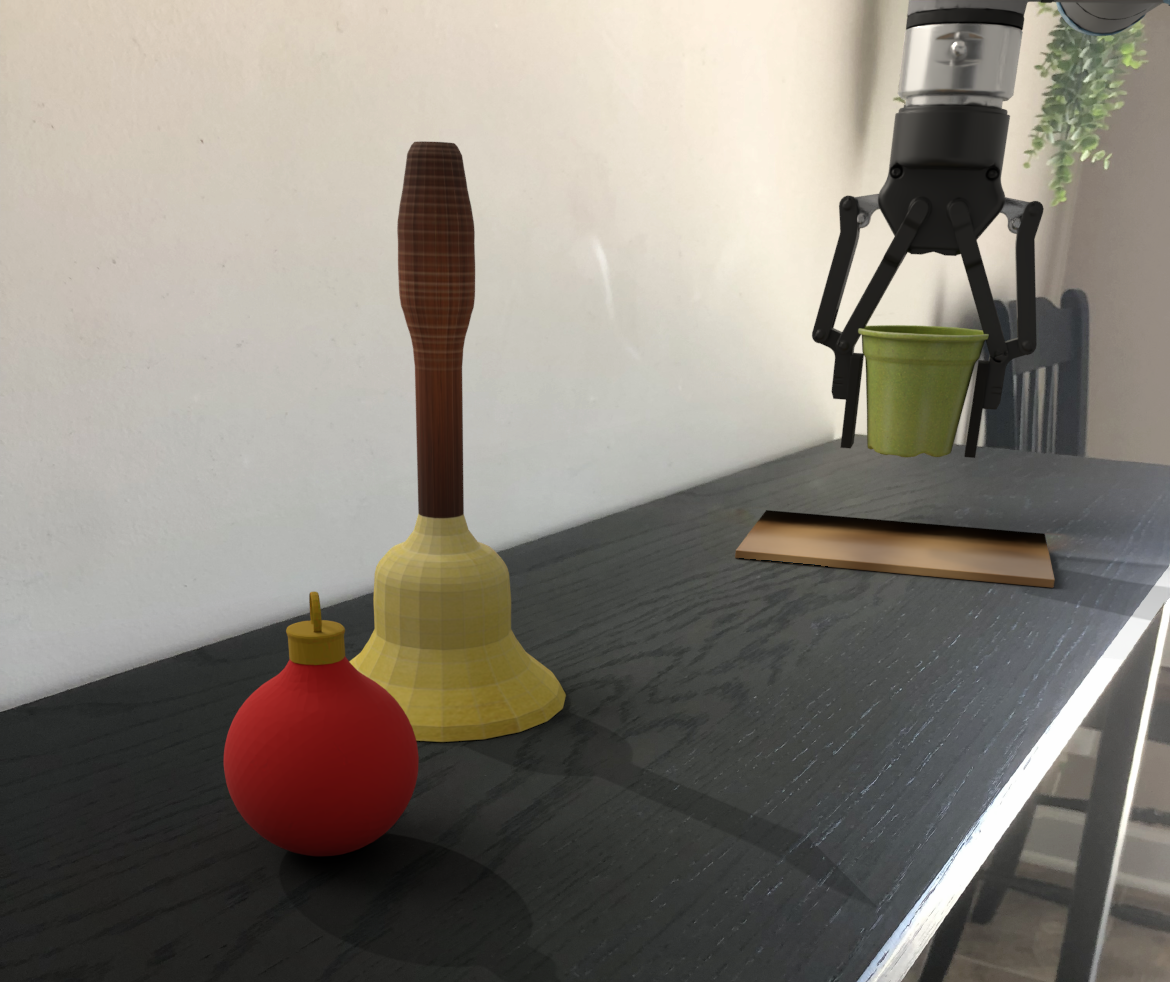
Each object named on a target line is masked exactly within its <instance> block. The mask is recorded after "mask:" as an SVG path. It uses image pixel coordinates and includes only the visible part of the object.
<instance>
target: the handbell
mask: <svg viewBox="0 0 1170 982" xmlns="http://www.w3.org/2000/svg"><path fill="white" fill-rule="evenodd" d="M471 203H472V202H471V199H470V193H469V189H468V183H467V176H466V170H465V165H464V159H463V154H462V152H461V150H460V148H459V146H458V145H457V144H456V143H454V142H445V141H414V142H412V144H411V145H410V147H409V149H408V151H407V153H406V161H405V167H404V175H403V183H402V189H401V194H400V199H399V206H398V207H399V208H398V215H397V224H396V225H397V228H396V229H397V231H396V232H397V275H398V294H399V302H400V307H401V309H402V313H403V317H404V320H405V324H406V327H407V329H408V330H407V331H408V332H409V333H408V334H409V337H410V340H411V345H412V352H413V353H412V354H413V362H414V389H415V391H414V392H415V394H414V395H415V422H416V423H415V430H416V431H415V433H416V464H417V465H416V469H417V470H416V471H417V474H416V475H417V504H418V505H417V507H418V508H417V512H418V514H417V517H416V520H415V524H414V528H413V530H412V532H411V533H410V534H409V536H408V537H407V538H406V540H404V541H403V542H400V543H398V544H395V545H393V546H392V547H390V549H389V550H388V551H387V552H386V553H385V554H384V555H383V556H382V558H381V559H380V560H379V561H378V562H377V565H376V567H375V570H374V574H373V575H374V576H373V577H374V578H373V583H374V584H373V600H372V601H373V619H374V622H373V623H374V629H373V631H372V633H371V635H370V637H369V639H368V640H367V642H366V644H365V645H364V647H363V648H362V649H361V651H360V652H359V653H358V654H356V656H355V657H353V658H352V659H350V660H348V661H349V662H350V663H351V664H352V665H353V666H354V667H355V668H356V669H357V670H358V671H359V672H360V673H362V674H363V675H365V676H367V677H368V678H370V679H372V680H373V681H375V682H376V683H378V684H379V685H380V686H382V687H383V688H384V689H386V690H387V691H388V692H389V693H390V694H391V695H392V696H393V697H394V699H395V700H396V701H397V702H398V703H399V705H400V706H401V708H402V709H403V710H404V712H405V714H406V715H407V717H408V719H409V721H410V724H411V726H412V728H413V731H414V734H415V738H416V742H419V741H420V742H436V743H446V742H447V743H449V742H459V741H460V742H462V741H476V740H477V741H478V740H479V741H480V740H487V739H493V738H496V737H502V736H506V735H511V734H516V733H521V732H523V731H527V730H528V729H531V728H533V727H536V726H538V725H541V724H543V723H547V722H548V721H550V720H551V719H552V718H553V717H554V716H555V715H557V714H558V713H559V712H561V711H562V710H563V709H564V705H565V700H566V697H567V694H566V692H565V691H564V689H563V687H562V685H561V683H560V681H559V680H558V679H557V677H556V675H555V674H554V673H553V671H551V670H550V669H549V668H548V667H546V666H545V665H544V664H542V663H541V662H540V661H539V660H538V659H535V658H534V657H533V656H532V655H531V654H529V652H527V651H526V650H525V649H524V647H523V646H522V644H521V643H520V641H519V640H518V638H517V637H516V636H515V634H514V632H513V629H512V594H511V593H512V592H511V580H510V572H509V569H508V568H509V567H508V566H507V564H506V562H505V561H504V560H503V558H502V557H501V556H500V555H499V553H497V551H496V550H495V549H493V548H492V547H491V546H489V545H488V544H485V543H484V542H480V541H478V540H477V539H476V538H475V536H474V535H473V533H472V532H471V531H470V530H469V527H468V523H467V520H466V517H465V516H466V515H465V508H464V507H465V500H464V495H465V494H464V418H463V417H464V414H463V413H464V412H463V410H464V409H463V405H464V404H463V403H464V401H463V399H464V398H463V397H464V396H463V361H464V347H465V340H466V336H467V333H468V329H469V326H470V322H471V318H472V314H473V311H474V308H475V300H476V250H475V249H476V248H475V246H476V245H475V242H476V241H475V235H476V234H475V233H476V232H475V221H474V216H473V215H474V214H473V209H472V208H473V207H472V204H471Z"/></svg>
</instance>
